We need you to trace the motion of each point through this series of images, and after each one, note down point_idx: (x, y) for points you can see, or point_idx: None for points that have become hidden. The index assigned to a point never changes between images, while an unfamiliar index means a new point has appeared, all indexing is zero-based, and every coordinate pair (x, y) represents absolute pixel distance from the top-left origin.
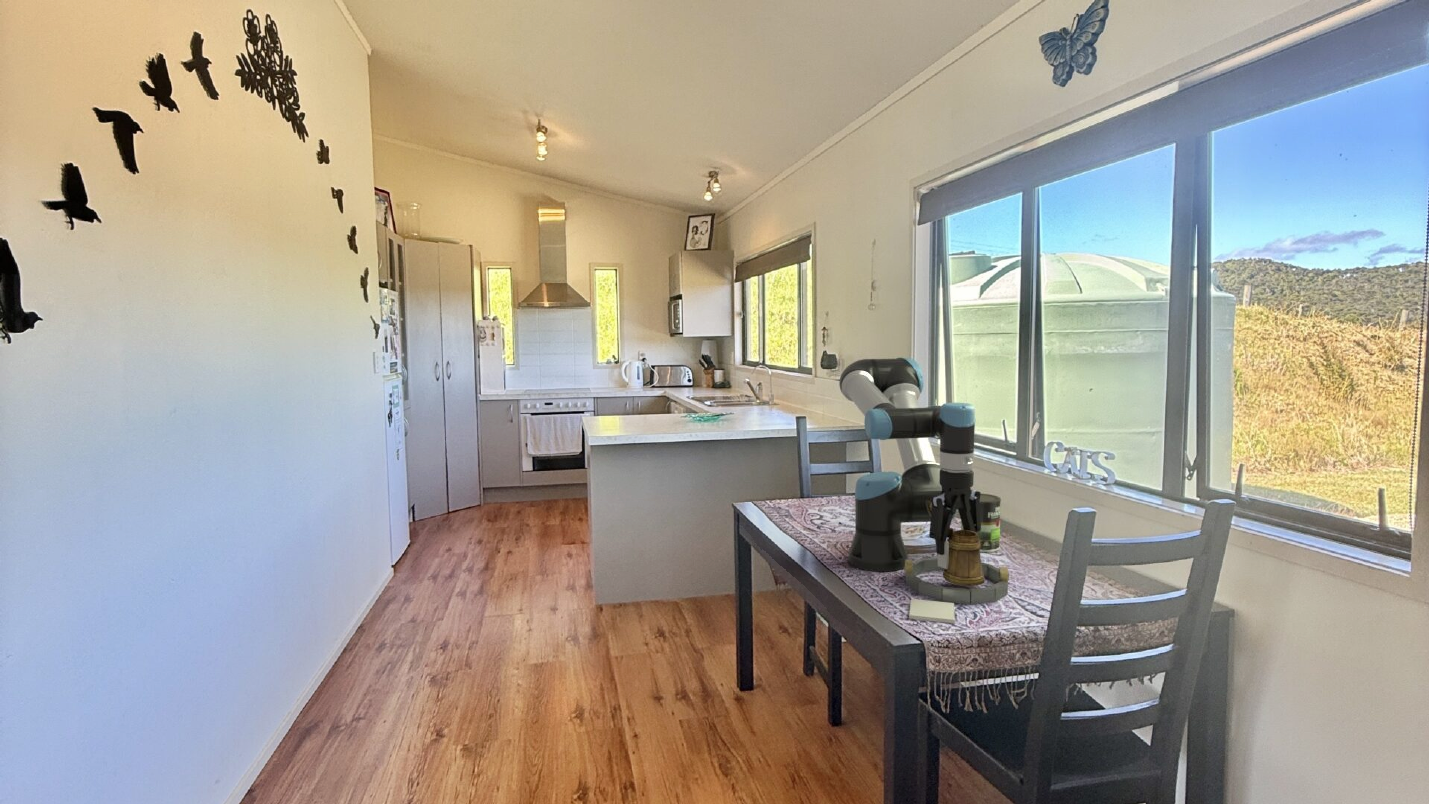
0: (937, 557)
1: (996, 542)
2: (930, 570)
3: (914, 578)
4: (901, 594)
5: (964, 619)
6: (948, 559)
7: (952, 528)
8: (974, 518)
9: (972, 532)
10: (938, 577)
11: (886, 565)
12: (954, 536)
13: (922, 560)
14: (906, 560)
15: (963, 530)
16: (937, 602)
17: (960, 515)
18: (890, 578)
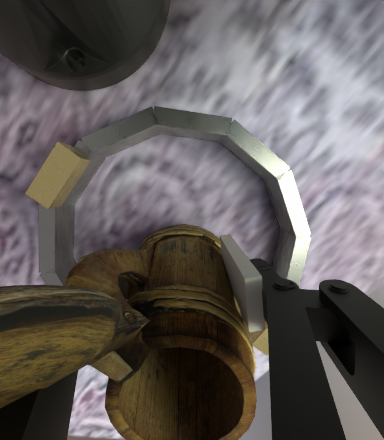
0: (214, 118)
1: None
2: (180, 135)
3: (41, 250)
4: (21, 245)
5: (83, 385)
6: (126, 297)
7: (134, 372)
8: (376, 404)
9: (243, 395)
10: (172, 184)
11: (43, 77)
12: (107, 404)
13: (150, 123)
14: (53, 154)
15: (220, 356)
16: None
17: (272, 411)
18: (44, 139)
